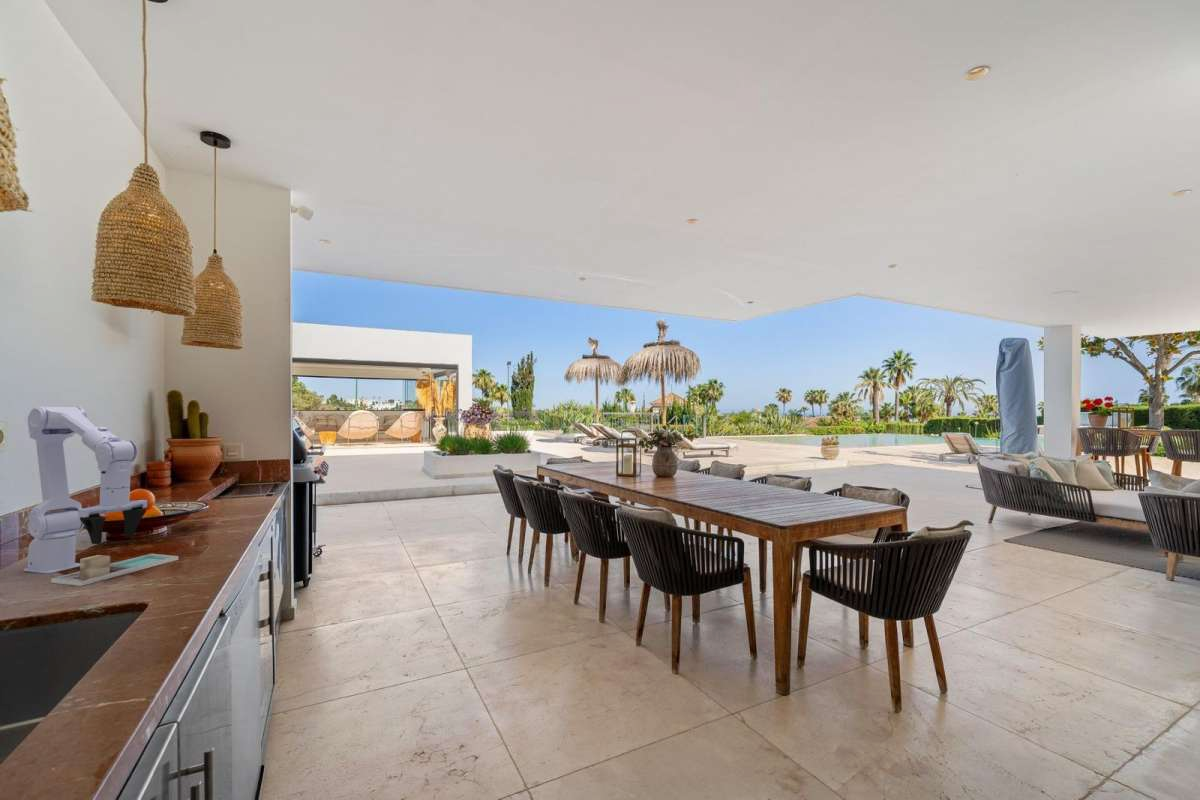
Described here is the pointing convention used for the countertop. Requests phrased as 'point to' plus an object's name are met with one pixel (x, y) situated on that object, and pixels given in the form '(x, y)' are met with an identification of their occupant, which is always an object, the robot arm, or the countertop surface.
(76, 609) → the countertop surface
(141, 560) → the rail frame
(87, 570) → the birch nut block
